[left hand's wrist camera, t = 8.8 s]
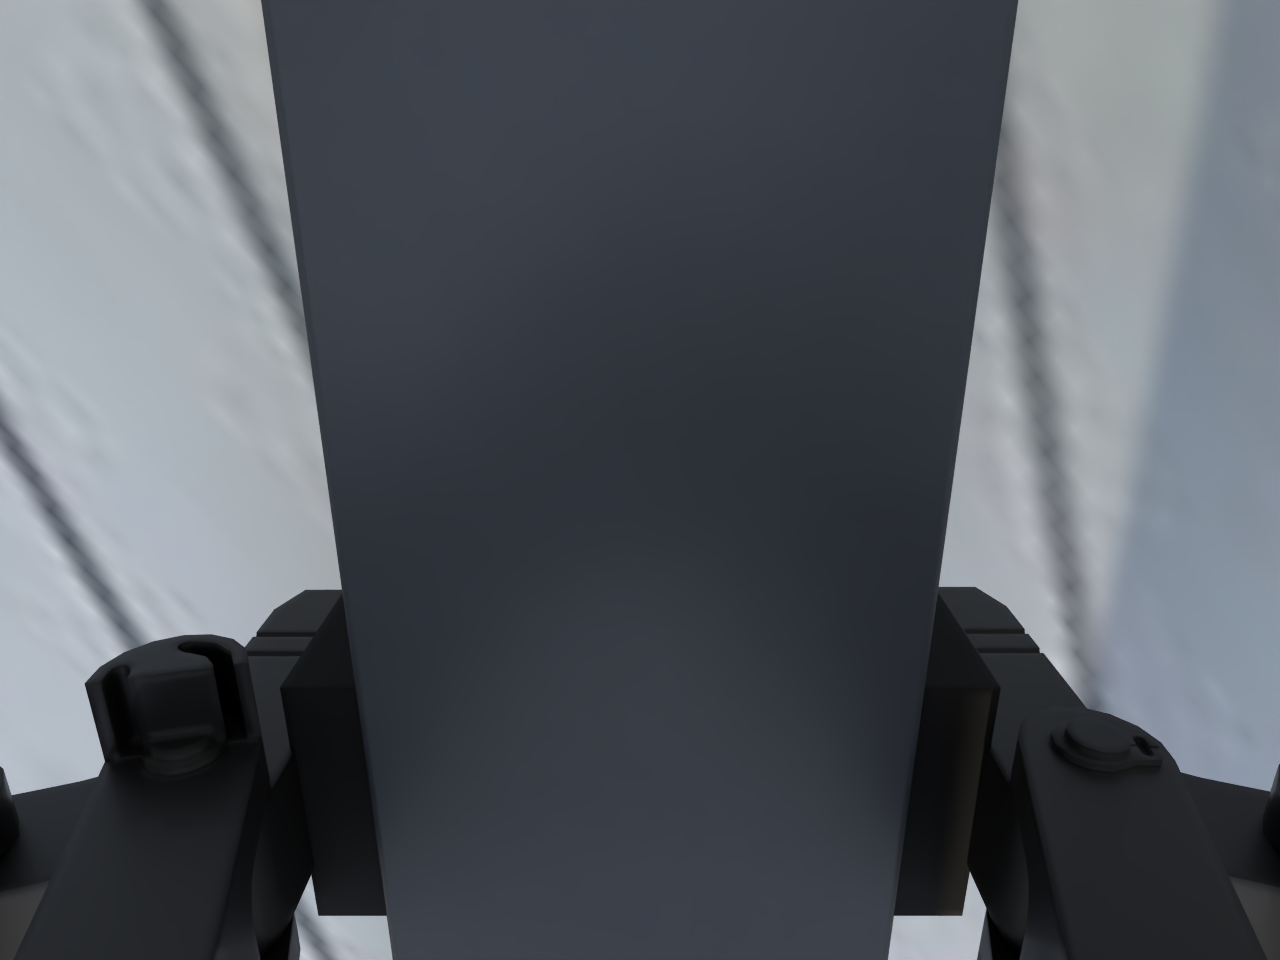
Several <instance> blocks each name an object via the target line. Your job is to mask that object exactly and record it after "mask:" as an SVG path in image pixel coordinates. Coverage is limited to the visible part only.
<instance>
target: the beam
mask: <svg viewBox="0 0 1280 960" xmlns="http://www.w3.org/2000/svg"><path fill="white" fill-rule="evenodd" d="M261 3H262V10H263V17H264V25H265V32H266V39H267V47H268V54H269V61H270V68H271V76H272V83H273V90H274V97H275V105H276V112H277V119H278V127H279V134H280V141H281V148H282V156H283V163H284V170H285V178H286V185H287V192H288V199H289V207H290V214H291V221H292V229H293V236H294V243H295V250H296V258H297V265H298V272H299V279H300V287H301V294H302V301H303V309H304V316H305V323H306V330H307V338H308V345H309V352H310V360H311V367H312V374H313V381H314V389H315V396H316V403H317V411H318V418H319V425H320V432H321V440H322V447H323V454H324V462H325V469H326V476H327V483H328V491H329V498H330V505H331V512H332V520H333V527H334V534H335V542H336V549H337V556H338V563H339V571H340V578H341V585H342V593H343V600H344V607H345V614H346V622H347V629H348V636H349V644H350V651H351V658H352V665H353V673H354V680H355V687H356V694H357V702H358V709H359V716H360V724H361V731H362V738H363V745H364V753H365V760H366V767H367V775H368V782H369V789H370V796H371V804H372V811H373V818H374V826H375V833H376V840H377V847H378V855H379V862H380V869H381V877H382V884H383V891H384V898H385V906H386V913H387V920H388V927H389V935H390V942H391V949H392V957H393V960H888V954H889V947H890V939H891V932H892V925H893V917H894V910H895V903H896V895H897V888H898V881H899V873H900V866H901V859H902V851H903V844H904V836H905V829H906V822H907V814H908V807H909V800H910V792H911V785H912V778H913V770H914V763H915V756H916V748H917V741H918V733H919V726H920V719H921V711H922V704H923V697H924V689H925V682H926V675H927V667H928V660H929V653H930V645H931V638H932V631H933V623H934V616H935V608H936V601H937V594H938V586H939V579H940V572H941V564H942V557H943V550H944V542H945V535H946V528H947V520H948V513H949V505H950V498H951V491H952V483H953V476H954V469H955V461H956V454H957V447H958V439H959V432H960V425H961V417H962V410H963V403H964V395H965V388H966V380H967V373H968V366H969V358H970V351H971V344H972V336H973V329H974V322H975V314H976V307H977V300H978V292H979V285H980V277H981V270H982V263H983V255H984V248H985V241H986V233H987V226H988V219H989V211H990V204H991V197H992V189H993V182H994V174H995V167H996V160H997V152H998V145H999V138H1000V130H1001V123H1002V116H1003V108H1004V101H1005V94H1006V86H1007V79H1008V72H1009V64H1010V57H1011V49H1012V42H1013V35H1014V27H1015V20H1016V13H1017V5H1018V0H261Z"/></svg>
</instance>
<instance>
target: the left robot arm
mask: <svg viewBox="0 0 1280 960" xmlns="http://www.w3.org/2000/svg"><path fill="white" fill-rule="evenodd" d="M1039 649H1040V648H1039V647H1038V646H1037V644H1036V643H1035V642H1034V641H1033V639H1032V638H1031V637H1030V636H1029V634H1025V629H1024V628H1023V627H1022V625H1021V624H1020V623H1019V622H1018V620H1017V619H1016V618H1015V616H1014V615H1013V614H1012V613H1011V611H1010V610H1009V609H1008V608H1007V606H1005V605H1003V604H1002V603H1000V602H999V601H997V600H995V599H994V598H992V597H990V596H989V595H987V594H986V593H984V592H982V591H981V590H979V589H978V588H976V587H938V594H937V601H936V608H935V616H934V623H933V631H932V638H931V645H930V653H929V660H928V667H927V675H926V682H925V689H924V697H923V704H922V711H921V719H920V726H919V733H918V741H917V748H916V756H915V763H914V770H913V778H912V785H911V792H910V800H909V807H908V814H907V822H906V829H905V836H904V844H903V851H902V859H901V866H900V873H899V881H898V888H897V895H896V903H895V910H894V916H962V913H963V907H964V902H965V896H966V890H967V884H968V878H969V872H971V875H972V877H973V879H974V881H975V884H976V886H977V888H978V890H979V892H980V895H981V897H982V899H983V901H984V903H985V906H986V914H985V919H984V925H983V930H982V936H981V941H980V947H979V952H978V958H977V960H1280V764H1279V766H1278V769H1277V773H1276V776H1275V779H1274V782H1273V785H1272V789H1271V792H1269V791H1264V790H1259V789H1254V788H1249V787H1244V786H1239V785H1234V784H1229V783H1224V782H1219V781H1214V780H1209V779H1205V778H1200V777H1196V776H1192V775H1189V774H1185V773H1181V772H1180V770H1179V768H1178V766H1177V764H1176V762H1175V760H1174V759H1173V757H1172V756H1171V755H1170V753H1169V752H1168V751H1167V750H1166V748H1165V747H1164V746H1163V744H1162V743H1161V742H1160V741H1158V740H1157V739H1155V738H1154V737H1152V736H1151V735H1150V734H1148V733H1147V732H1145V731H1144V730H1143V729H1141V728H1140V727H1138V726H1136V725H1134V724H1131V723H1129V722H1127V721H1125V720H1122V719H1120V718H1118V717H1115V716H1113V715H1111V714H1107V713H1103V712H1099V711H1094V710H1090V709H1087V708H1086V707H1085V705H1084V704H1083V703H1082V701H1081V700H1080V699H1079V698H1078V696H1077V695H1076V694H1075V693H1074V691H1073V690H1072V689H1071V688H1070V686H1069V685H1068V684H1067V682H1066V681H1065V680H1064V679H1063V677H1062V676H1061V675H1060V674H1059V672H1058V671H1057V670H1056V669H1055V667H1054V666H1053V665H1052V663H1051V662H1050V661H1049V660H1048V658H1047V657H1046V656H1045V655H1044V653H1040V651H1039ZM85 687H86V690H87V694H88V698H89V702H90V706H91V709H92V713H93V717H94V721H95V725H96V729H97V732H98V736H99V740H100V744H101V748H102V752H103V755H104V759H105V763H104V765H103V767H102V770H101V772H100V774H99V776H98V777H95V778H92V779H88V780H84V781H80V782H75V783H71V784H66V785H61V786H56V787H51V788H46V789H41V790H36V791H31V792H26V793H21V794H16V795H11V792H10V789H9V786H8V783H7V779H6V776H5V773H4V770H3V768H1V767H0V960H299V956H300V943H299V937H298V930H297V925H296V919H295V914H294V912H295V910H296V907H297V905H298V903H299V901H300V898H301V896H302V894H303V892H304V889H305V887H306V885H307V883H308V881H309V878H310V876H311V874H312V880H313V886H314V892H315V898H316V904H317V910H318V916H387V913H386V906H385V898H384V891H383V884H382V877H381V869H380V862H379V855H378V847H377V840H376V833H375V826H374V818H373V811H372V804H371V796H370V789H369V782H368V775H367V767H366V760H365V753H364V745H363V738H362V731H361V724H360V716H359V709H358V702H357V694H356V687H355V680H354V673H353V665H352V658H351V651H350V644H349V636H348V629H347V622H346V614H345V607H344V600H343V593H342V590H305V591H303V592H302V593H300V594H298V595H297V596H295V597H294V598H292V599H290V600H289V601H287V602H286V603H284V604H282V605H281V606H279V607H278V608H276V609H274V611H273V612H272V613H271V615H270V616H269V617H268V618H267V620H266V621H265V622H264V624H263V625H262V626H261V627H260V629H259V630H258V631H257V636H256V637H253V638H252V639H251V640H250V641H249V643H248V644H247V645H246V647H245V648H244V647H243V646H242V645H241V644H239V643H238V642H237V641H235V640H234V639H231V638H226V637H221V636H217V635H212V634H210V635H183V636H178V637H173V638H168V639H163V640H158V641H153V642H151V643H148V644H145V645H143V646H140V647H137V648H135V649H132V650H129V651H127V652H124V653H122V654H121V655H119V656H117V657H116V658H114V659H112V660H111V661H109V662H108V663H106V664H104V665H103V666H101V667H100V668H99V669H98V670H97V671H96V672H95V673H94V674H93V675H92V676H91V677H90V678H89V679H88V681H87V682H86V683H85Z"/></svg>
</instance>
